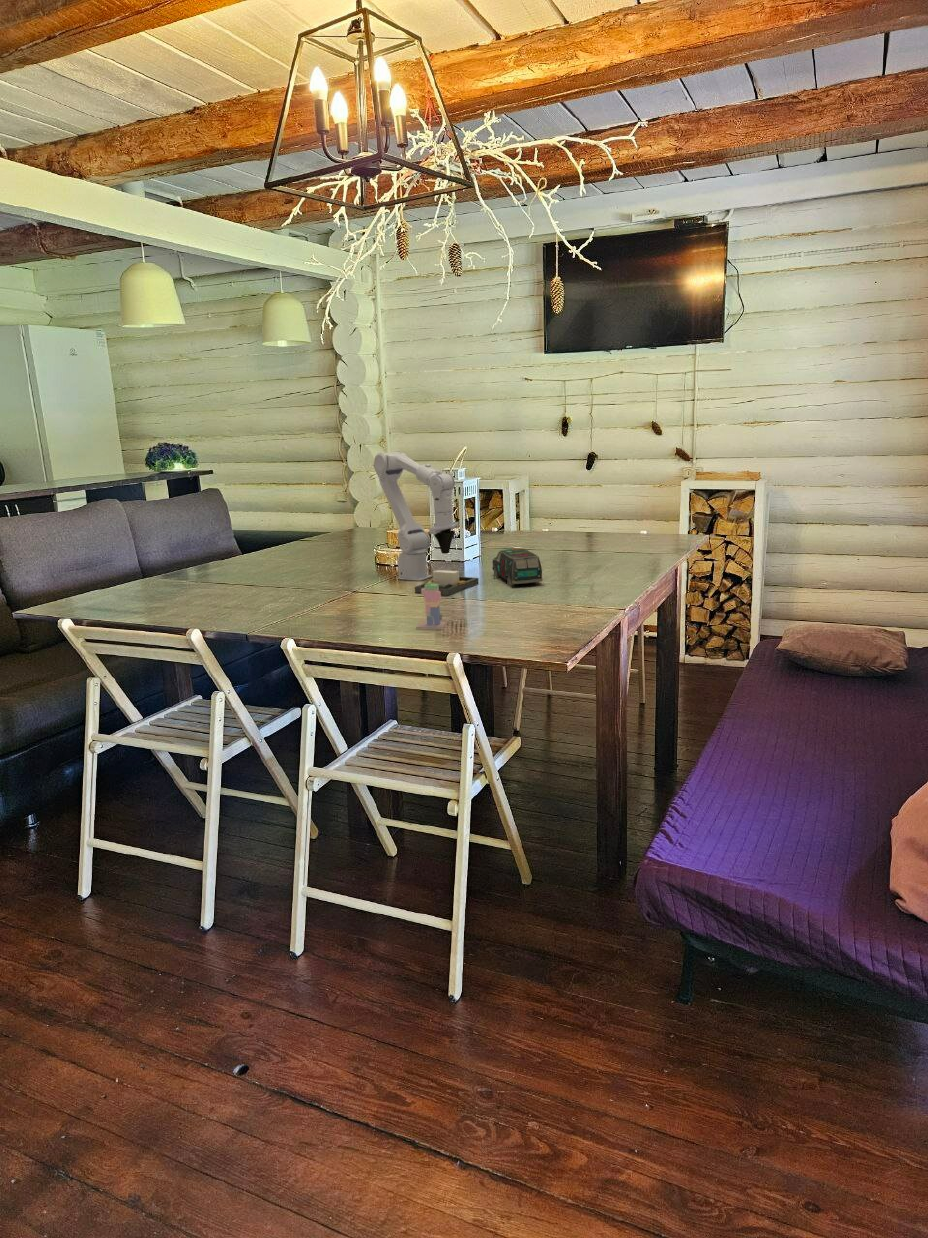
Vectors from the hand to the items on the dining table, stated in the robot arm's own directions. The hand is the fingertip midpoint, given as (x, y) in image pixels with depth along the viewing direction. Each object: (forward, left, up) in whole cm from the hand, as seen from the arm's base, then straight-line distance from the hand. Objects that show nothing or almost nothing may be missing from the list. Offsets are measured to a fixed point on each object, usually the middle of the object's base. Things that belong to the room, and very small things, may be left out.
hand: (445, 553), depth 276 cm
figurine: (+27, -50, -10) cm, 58 cm away
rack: (+5, -8, -10) cm, 13 cm away
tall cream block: (+5, -8, -9) cm, 13 cm away
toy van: (+20, +12, -10) cm, 25 cm away
